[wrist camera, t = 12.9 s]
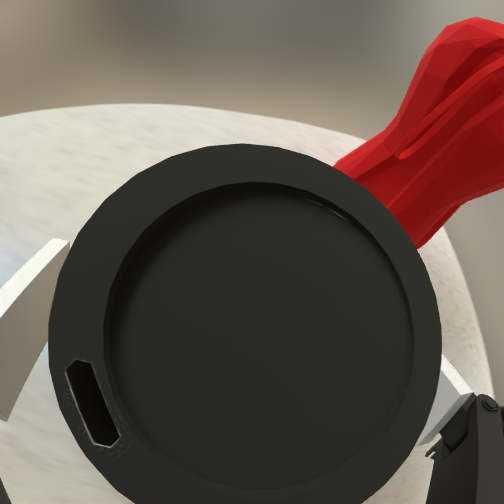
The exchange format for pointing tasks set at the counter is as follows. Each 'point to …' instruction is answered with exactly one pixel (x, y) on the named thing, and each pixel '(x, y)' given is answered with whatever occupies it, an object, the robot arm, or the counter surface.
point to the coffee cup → (244, 333)
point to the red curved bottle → (441, 133)
